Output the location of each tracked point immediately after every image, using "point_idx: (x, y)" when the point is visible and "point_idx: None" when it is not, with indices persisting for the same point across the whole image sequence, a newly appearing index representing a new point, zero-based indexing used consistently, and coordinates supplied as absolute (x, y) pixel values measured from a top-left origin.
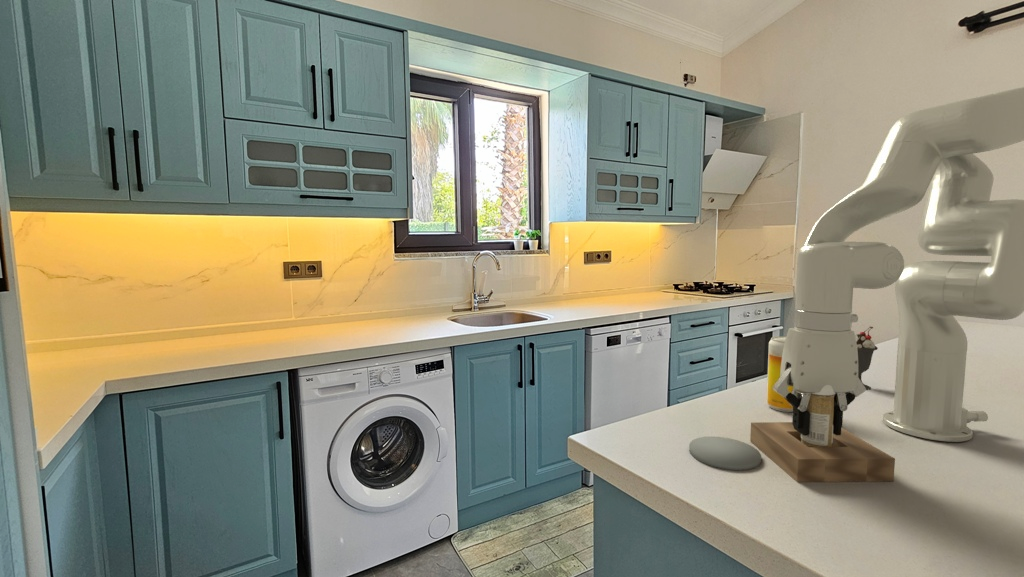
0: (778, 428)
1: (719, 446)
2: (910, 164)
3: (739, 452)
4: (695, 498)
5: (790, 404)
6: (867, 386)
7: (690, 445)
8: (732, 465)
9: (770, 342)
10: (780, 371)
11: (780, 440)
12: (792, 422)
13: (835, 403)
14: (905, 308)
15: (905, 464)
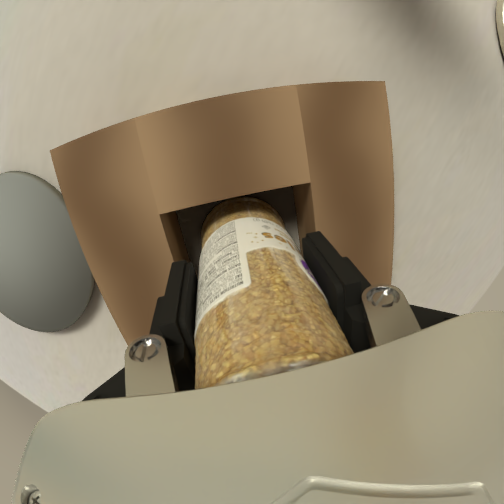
0: (136, 187)
1: (6, 243)
2: None
3: (45, 270)
4: (30, 394)
5: (132, 346)
6: None
7: None
8: (43, 331)
9: None
10: (16, 498)
11: (124, 300)
12: (157, 300)
13: (365, 349)
14: None
15: (436, 221)
